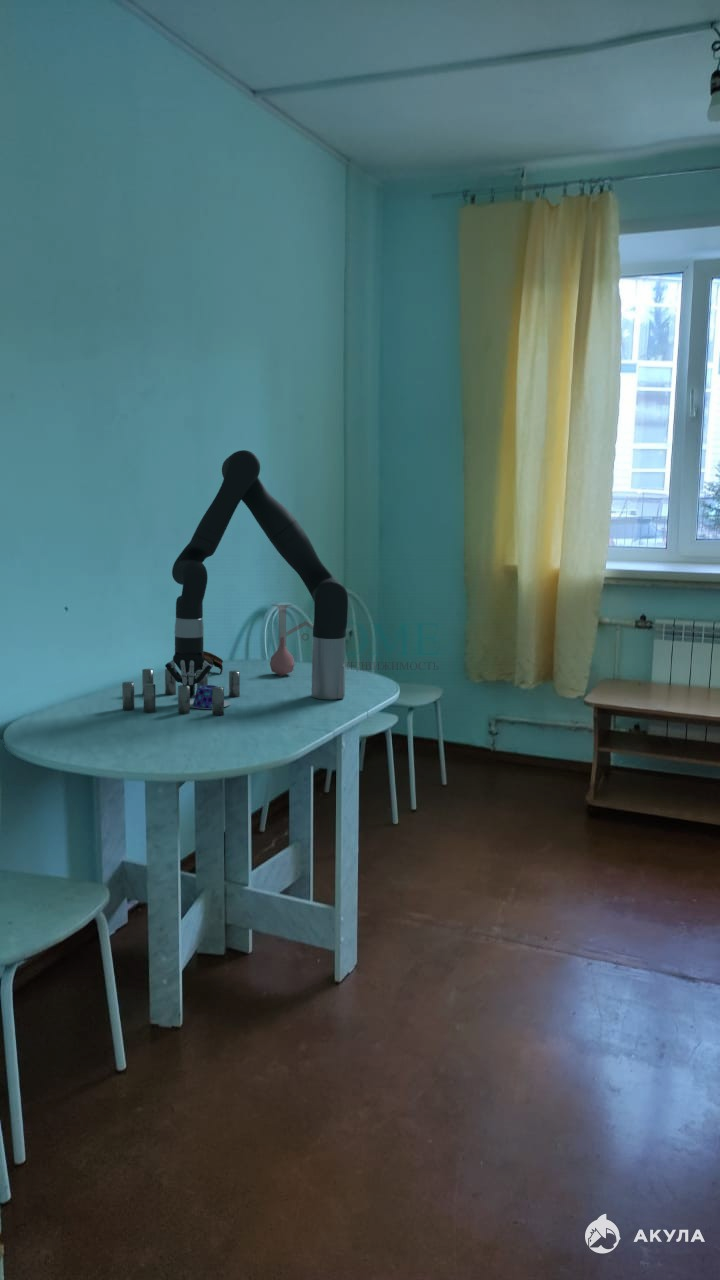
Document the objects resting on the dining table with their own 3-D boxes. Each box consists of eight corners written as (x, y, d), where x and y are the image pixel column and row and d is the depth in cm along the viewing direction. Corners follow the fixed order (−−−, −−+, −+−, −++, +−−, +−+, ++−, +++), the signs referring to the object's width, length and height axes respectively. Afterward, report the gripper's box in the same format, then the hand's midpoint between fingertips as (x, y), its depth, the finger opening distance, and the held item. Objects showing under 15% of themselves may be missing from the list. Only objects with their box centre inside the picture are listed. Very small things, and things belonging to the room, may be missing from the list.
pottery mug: (186, 673, 292) (198, 650, 294) (213, 686, 294) (225, 663, 295) (189, 671, 280) (201, 646, 282) (218, 684, 282) (229, 660, 284)
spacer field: (240, 695, 261) (240, 670, 260) (222, 716, 237) (222, 689, 235) (146, 691, 263) (146, 667, 262) (118, 712, 238) (118, 685, 237)
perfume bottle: (293, 677, 287) (293, 639, 285) (268, 677, 287) (269, 638, 285) (295, 673, 295) (295, 635, 293) (271, 672, 295) (271, 635, 293)
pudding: (183, 711, 242) (183, 691, 241) (187, 700, 254) (187, 682, 253) (229, 711, 243) (229, 691, 243) (231, 701, 255) (231, 682, 254)
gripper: (216, 633, 250) (216, 696, 253) (168, 631, 251) (168, 693, 253) (210, 637, 243) (210, 702, 245) (160, 635, 243) (160, 699, 246)
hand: (188, 697), depth 249 cm, fingers closed
